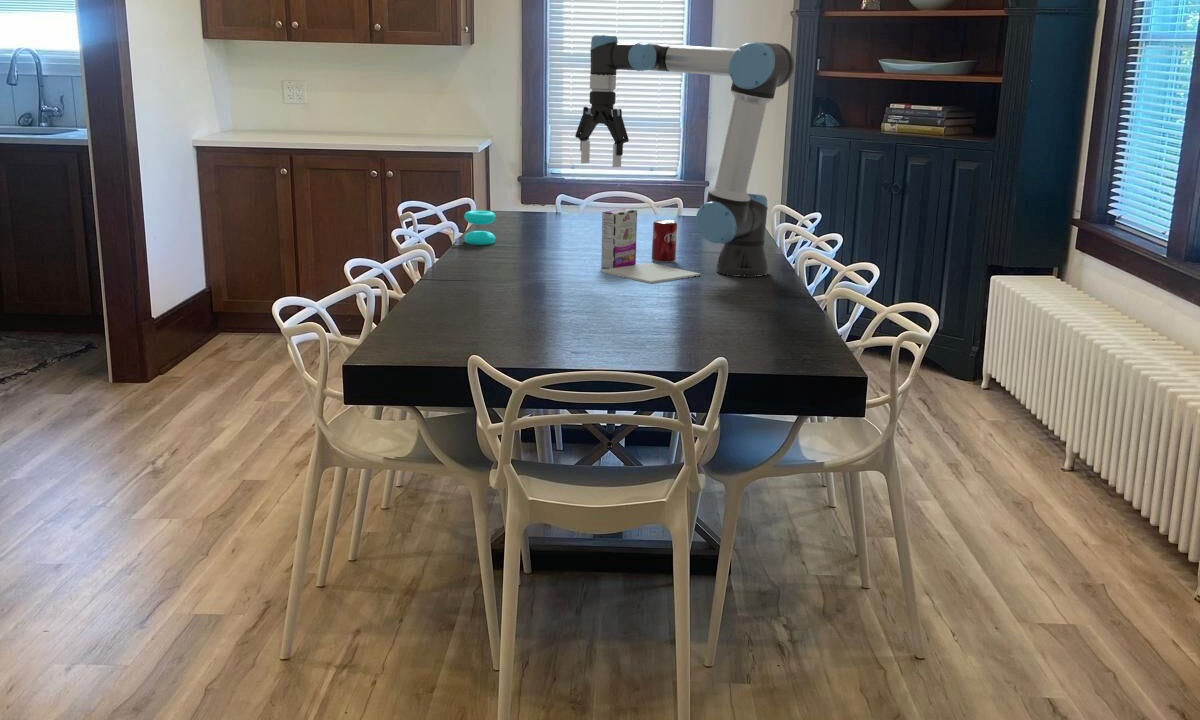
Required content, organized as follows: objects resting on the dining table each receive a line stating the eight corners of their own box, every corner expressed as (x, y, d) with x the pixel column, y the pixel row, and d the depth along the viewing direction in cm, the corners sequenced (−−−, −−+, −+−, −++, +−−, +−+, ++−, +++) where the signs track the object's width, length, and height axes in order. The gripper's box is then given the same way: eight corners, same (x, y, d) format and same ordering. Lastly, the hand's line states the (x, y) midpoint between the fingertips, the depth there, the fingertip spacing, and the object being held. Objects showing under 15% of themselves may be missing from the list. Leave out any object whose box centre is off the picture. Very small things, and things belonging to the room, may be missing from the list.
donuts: (466, 209, 362) (497, 210, 362) (466, 240, 365) (497, 241, 365) (462, 213, 352) (493, 214, 352) (462, 245, 355) (493, 246, 355)
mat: (700, 275, 318) (700, 273, 318) (650, 283, 305) (650, 281, 305) (650, 264, 332) (650, 262, 332) (601, 271, 319) (601, 269, 319)
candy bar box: (622, 262, 334) (624, 207, 330) (636, 265, 331) (638, 209, 327) (599, 267, 325) (601, 211, 321) (613, 270, 323) (615, 213, 318)
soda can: (647, 261, 338) (649, 221, 335) (657, 258, 344) (659, 219, 341) (669, 264, 335) (671, 224, 332) (679, 260, 341) (681, 221, 338)
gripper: (642, 92, 317) (639, 168, 322) (583, 89, 334) (581, 160, 340) (623, 92, 312) (621, 169, 317) (564, 88, 330) (563, 161, 335)
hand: (600, 165), depth 329 cm, fingers open, 13 cm apart
